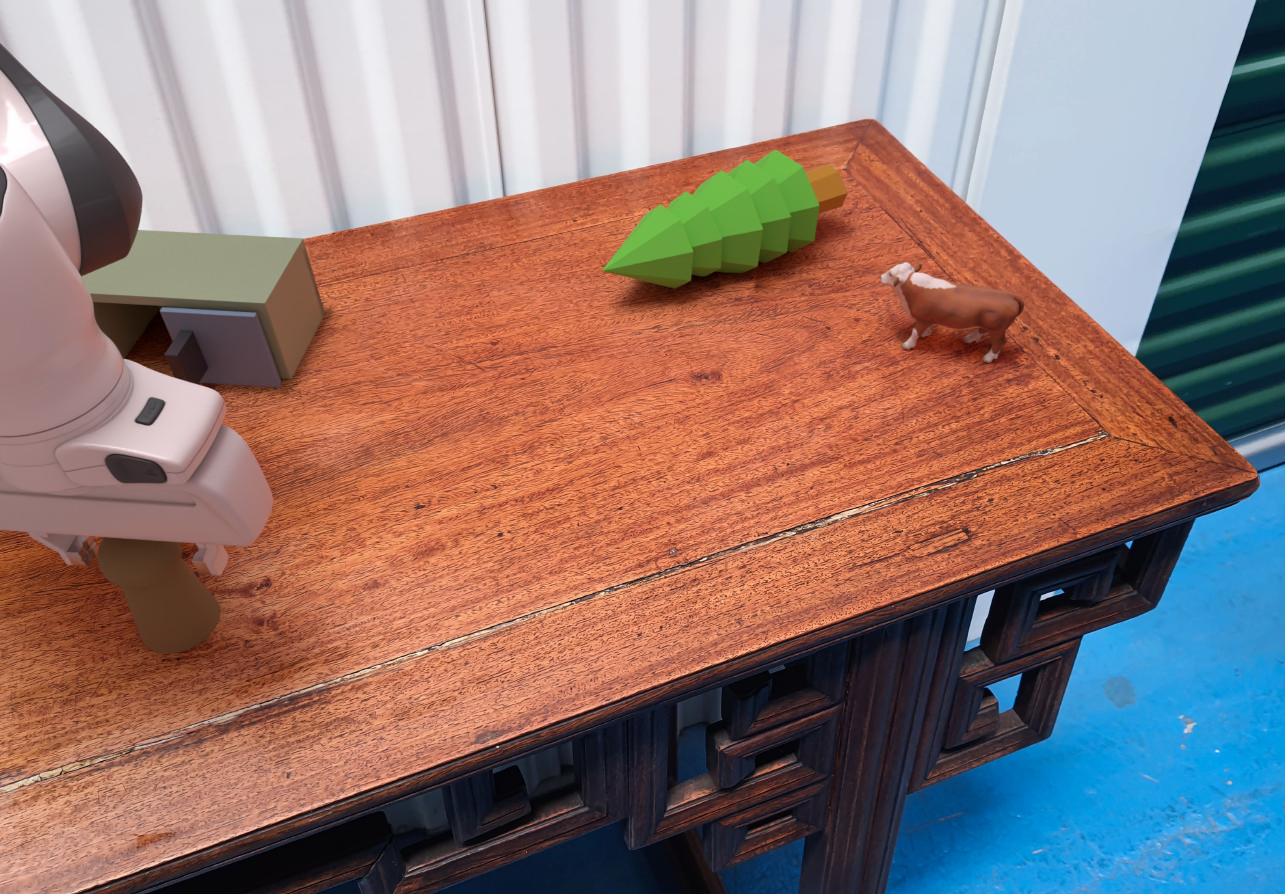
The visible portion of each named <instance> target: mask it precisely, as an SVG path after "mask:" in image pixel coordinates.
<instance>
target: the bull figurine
mask: <svg viewBox="0 0 1285 894" xmlns="http://www.w3.org/2000/svg"><path fill="white" fill-rule="evenodd" d="M922 268H923V264H922V263H921V262H917V263H915V264H914V265H912V264H910V263H909V262H907V261H904V262H902V263H899V264H896V265H895V266H894V267H892V268H889V270H887V271H886V272H885V273H882V274H881V275H880V279H879V281H880V284H882V285H884V286H886V285H887V286H890V288H891V290H892V291H893V293H894V294H895V295H896V296H898V298H899V301H900V306H901V309H902V310H903V312H905V314H906V315H907V317H908V318H909V319H910V320H912V321H913V322H914V323H915V325H914V328H912V331H911V335H910V336H909V338H908V339H907V340H906V341H905V342H902V344H901V348H902V349H903V350H906V351H909V350H911V348H912V349H913V348H915V347H916V346H917V341H918V339H919V338H925V337H926V336H927V337H929V336H930V335H931V334H932V329H931V326H932V325H939V326H942V327H944V328H948V329H949V330H950V329H951V330H957V331H958V332H963V331H965V330H970V329H973V328H977V329H976V330H975V331H973V332H972V333H969V334H967V335H966V336H964V337H962V341H963V342H964V343H965V344H971V343H973V342H974V341H975V342H976V343H978V342H979V341H980V340H981V338H982V337H983V335H985V334H986V333H987V334H988V335H989V338H990V340H991V348H990V350H989V351H988V352H987V353H986V354H984V355H983V356H982V357H981V358H982V359H981V360H982V362H983V363H986V364H991V363H992V361H994V360H997V359H998V357H999V354H1000V352H1001V351H1002V348H1003V347H1004V346H1006V345H1007V343H1008V339H1007V337H1006V331H1007V330H1008V329H1009V328H1010V327H1011V326H1013V324H1014V323H1015V321H1016V319H1017V317H1019V316H1020V315H1021V314H1022V313H1023V311H1024V309H1025V302H1024V300H1023V298H1022V297H1021V296H1020V295H1019V294H1017V293H1015V292H1011V291H1007V290H1001V289H996V288H993V287H990V286H976V285H970V284H969V285H968V284H963V283H960V282H959V283H958V282H953V281H950V280H948V279H945V278H941V277H940V278H939V277H933V276H931V275H930V274H927V273H924V272H920V270H921V269H922Z"/></svg>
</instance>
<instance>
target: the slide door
mask: <svg viewBox="0 0 1285 894" xmlns="http://www.w3.org/2000/svg"><path fill="white" fill-rule="evenodd" d="M159 313H160V315H161V317H162V320H163V322H164V324H165V327H166V329H167V331H168V334H169V336H170V338H171V341H172V342H171V344H170V345H169V346H168V347H167V350H166V351H165V352H164V354H163V355H164V358H165V360H166V363H167V365H168V367H169V369H170V371H171V373H172V375H173V377H174V378H177V379H180V380H183V381H187V382H190V383H194V384H197V385H200V383H201V384H216V385H217V384H218V385H231V386H232V385H235V386H251V387H265V388H266V387H267V388H281V386H282V384H283V383H282V379H280V377H279V374H278V371H277V369H276V366H275V363H274V360H273V357H272V355H271V352H270V349H269V346H268V344H267V341H266V338H265V335H264V332H263V330H262V327H261V324H260V321H259V318H258V316H257V313H252V312H234V311H217V310H199V309H182V308H164V307H163V308H162V309H159Z"/></svg>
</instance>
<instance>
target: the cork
mask: <svg viewBox="0 0 1285 894" xmlns="http://www.w3.org/2000/svg"><path fill="white" fill-rule="evenodd" d="M98 546H99V549H98V553H97V556H96V557H97V563H98V568H99V570H100V572H101V573H102V574H103V575H104V577H105V579H107V581H108V582H110V583H111V584H113V585H115V586H116V587H118V588H120V589H121V591H122V593H123V597H124V599H125V600H126V604H127V607H128V608H129V609H128V610H129V612H130V615H131V617H132V620H133V623H134V625H135V627H136V630H137V633H138V635H139V638H140V641H141V642H142V643H143V645H144V646H145V648H146V649H149V650H151V651H152V652H154V653H157V654H163V655H171V654H178V653H183V652H185V651H188V650H190V649H193V648H195V647H197V646H198V645H199V644H201V643H203V642H204V641H206V639H207V638H208V637H209V636H210V635H211V634H212V633H213V632H214V631H215V629H216V627H217V625H218V623H219V622H220V617H221V607H220V603H219V601H218V600H217V599H216V598H215V596H214V594H212V592H211V591H210V590H209V589H208V587H207V586H205V584H204V583H203V582H202V581H201V579H200V578H199V577H198V575H196V574H195V572H194V571H193V570H192V569H191V567H190V566H189V565H188V563H186V562H185V560H184V558H182V554H183V548H182V542H169V541H154V540H139V539H125V538H110V537H102V539H101V540H100V543H99V545H98Z"/></svg>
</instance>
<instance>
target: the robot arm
mask: <svg viewBox="0 0 1285 894" xmlns="http://www.w3.org/2000/svg"><path fill="white" fill-rule="evenodd" d="M143 197H144V196H143V191H142V188H141V185H140V182H139V180H138V178H137V176H136V174H135V173H134V170H133V169H132V168H131V166H130V165H129V163H128V162H127V161H126V158H124V156H123V155H122V154H121V152H120V151H119V150H118V149H117V148H116V146H114V145H113V143H112V142H111V141H110V140H109V139H108V138H107V137H106V136H105V135H104V133H102V132H101V131H99V130H98V128H97V127H95V126H94V125H93V124H92V123H91V122H90V121H88V119H86V118H85V117H84V116H82V115H81V114H80V113H78V112H77V111H76V110H75V109H73V108H72V107H71V106H70V105H68V104H67V103H66V102H65V101H63V100H62V99H61V98H59V96H57V95H56V94H55V93H54V92H52V91H51V90H49V88H47V86H45V85H44V84H43V83H42V82H40V80H38V78H36V77H35V76H34V75H33V73H32V72H30V71H29V70H28V68H26V67H25V66H24V65H23V64H22V63H21V62H20V61H19V60H18V59H17V58H16V57H15V56H14V55H13V54H12V53H11V52H10V51H9V50H8V49H7V48H6V47H5V46H4V45H3V44H2V43H1V42H0V531H10V532H22V533H23V532H25V533H27V534H28V536H29V537H30V538H32V539H34V540H35V541H37V542H39V543H40V544H42V545H44V546H45V547H47V548H49V549H51V550H52V551H54V552H56V553H58V554H59V556H60V557H61V559H62V561H64V563H65V564H66V566H73V567H74V566H80V567H81V566H82V567H90V566H91V565H92V564H93V563H94V558H96V557H97V553H98V549H99V546H100V545H99V544H98V543H97V541H95V538H94V537H98V538H103V537H110V538H125V539H139V540H154V541H169V542H180V543H187V544H195V545H196V547H197V551H196V552H195V553H194V555H193V557H192V558H191V560H190V562H191V564H192V566H193V567H194V568H195V569H196V573H197V574H198V575H204V576H205V575H206V576H216V577H220V576H222V575H223V574H224V571H225V568H226V566H227V564H228V562H229V554H228V552H227V550H226V548H225V546H228V547H229V546H231V547H240V548H241V547H242V548H244V547H250V546H252V545H253V544H254V543H255V541H256V540H257V539H258V538H259V537H260V535H261V534H262V532H263V531H264V528H265V527H266V525H267V523H268V521H269V518H270V516H271V514H272V511H273V507H274V497H273V496H274V495H273V493H272V490H271V488H270V485H269V483H268V481H267V478H266V475H265V473H264V471H263V470H262V467H261V466H260V464H259V462H258V460H257V458H256V456H255V454H254V453H253V450H252V449H251V448H250V446H249V444H248V443H247V442H246V440H245V439H244V438H243V437H242V436H241V435H240V434H239V433H238V432H237V431H236V430H234V429H233V428H231V427H229V426H228V425H226V424H223V422H224V420H225V416H226V414H227V411H228V410H227V409H228V408H227V405H226V402H225V399H224V398H223V396H222V395H221V394H220V392H218V391H217V390H215V389H213V388H210V387H207V386H204V385H202V384H198V385H197V384H194V383H190V382H187V381H183V380H180V379H177V378H175V377H174V376H170V375H168V374H164V373H162V372H159V371H156V370H154V369H152V368H150V367H147V366H144V365H142V364H140V363H138V362H135V361H134V360H130V359H126V358H125V359H123V358H122V356H121V354H120V352H119V350H118V349H117V347H116V346H115V344H114V343H113V342H112V341H111V340H110V339H109V338H108V337H107V336H106V335H105V334H104V333H103V332H102V331H101V330H100V328H99V327H98V325H97V323H96V320H95V316H94V306H93V301H92V298H91V295H90V293H89V291H88V289H87V287H86V285H85V283H84V281H83V279H82V277H81V276H84V275H86V274H88V273H91V272H93V271H95V270H98V269H100V268H102V267H105V266H107V265H109V264H112V263H114V262H116V261H119V260H121V259H123V258H125V257H126V256H127V255H128V254H129V252H130V250H131V247H132V245H133V243H134V240H135V238H136V235H137V232H138V230H139V228H140V224H141V219H142V218H141V217H142V212H143V200H144V198H143Z"/></svg>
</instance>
